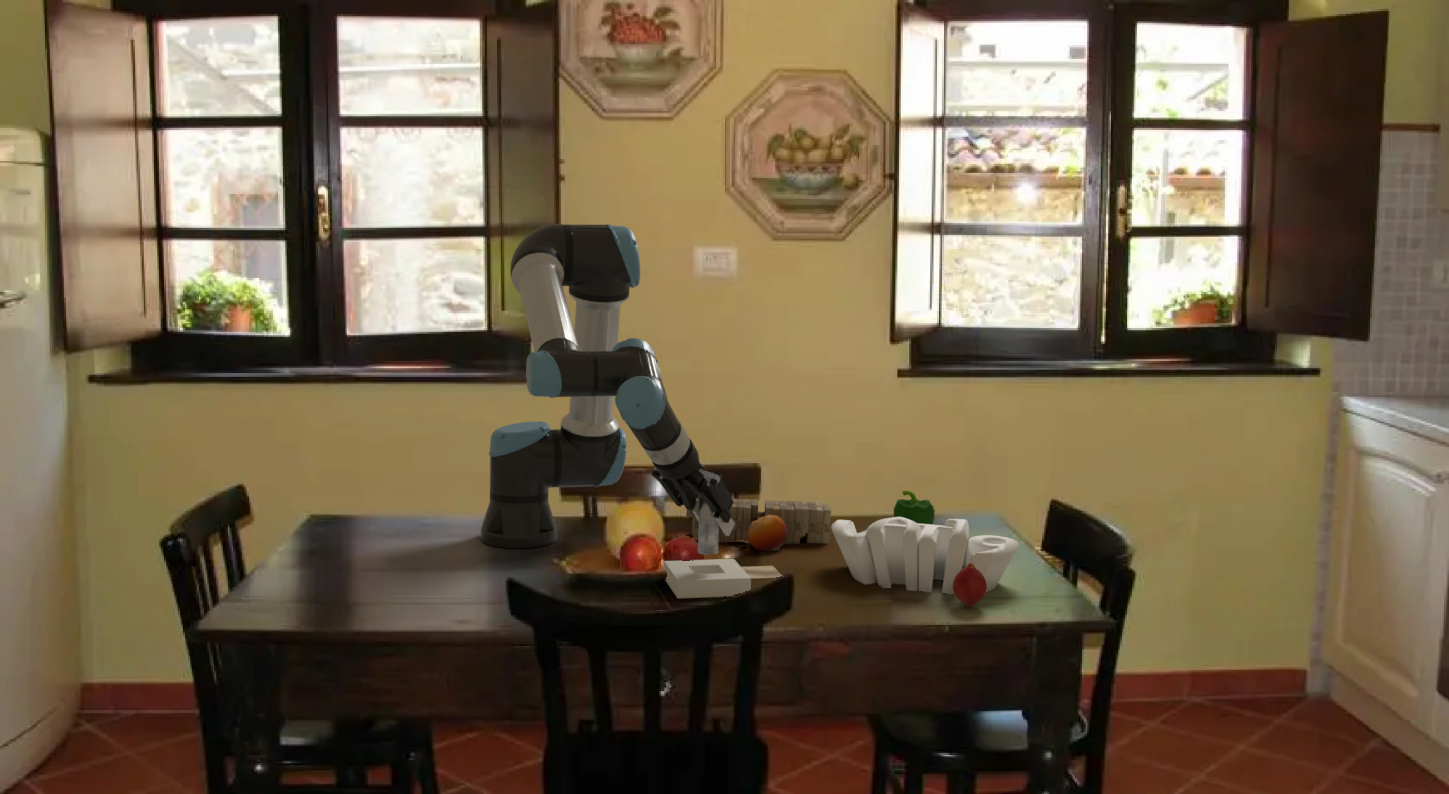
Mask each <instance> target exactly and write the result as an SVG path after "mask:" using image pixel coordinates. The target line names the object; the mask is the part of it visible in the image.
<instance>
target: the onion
mask: <svg viewBox="0 0 1449 794" xmlns="http://www.w3.org/2000/svg"><path fill="white" fill-rule="evenodd" d="M986 589H987V584H986V580H985V578H984V576H983V575H982V573H981V572H980V571H979V570H978V569H976V568H975V566H974V564H973V563H969V564H968V566H967V567H965V568H964V569H962V570H960V571H959V572H958V573H957V575H956V576H955V578H954V581H953V592H954V594H953V595H954V596H955V597H956V598H957V599H958V600H959V601H960V602H961V603H962V604H963V605H964V606H965V607H967V608H973V606H974V605H976V604H977V603H978V602H980V601H981V600H982V599H983V598H984V596H985V595H986V594H987V593H986Z"/></svg>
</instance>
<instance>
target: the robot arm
mask: <svg viewBox="0 0 1449 794" xmlns="http://www.w3.org/2000/svg"><path fill="white" fill-rule="evenodd" d="M513 252H514V253H513V255H512V256H511V257H512V258H511V261H510V266H509V267H510V270H509V271H510V278H511V282H512V285H513V287H514V288H515V291H517V292H518V293H519V294H520V296H521V301H522V305H523V310H524V313H525V318H526V323H527V326H528V331H529V336H530V339H531V343H532V347H533V352H530V353H529V354H528V355H527V358H526V365H525V368H526V369H525V370H526V371H525V379H526V386H527V392H528V393H529V394H530V395H531V396H534V397H542V398H543V397H546V398H550V399H554V398H568V397H569V408H568V409H569V411H568V413H566V415H564V416H563V417H562V418H561V419H560V420H561V422H560V429H551V427H550V425H549V423H547V422H545V421H523V422H517V423H516V422H515V423H510V424H507V425H503V426H500V427H499V428H497V429H495V430H494V431H493V432H492V433H491V436H490V443H489V452H488V455H489V458H490V459H489V503H488V506H487V509H486V513H485V515H484V518H483V520H482V524H481V528H480V541H481V542H482V543H484V544H486V545H489V546H492V547H498V548H508V549H528V548H529V549H531V548H536V547H537V548H538V547H543V546H547V545H551V544H553V543H555V542H556V541H557V539H558V536H557V535H558V533H557V530H558V529H557V525H556V522H555V518H554V516H553V512H552V509H551V505H550V502H549V501H550V500H549V488H576V487H577V488H579V487H580V488H581V487H583V488H584V487H586V488H587V487H593V488H597V487H603V486H612V485H614V484H616V483H617V482H618V481H619V479H620V478H621V476H622V474H623V471H624V468H625V464H626V457H627V450H626V449H627V435H626V432H625V431H624V429H623V428H620V422H619V421H618V420H617V419H616V417H615V416H613V409H614V408H613V407H614V402H615V407H616V408H617V411H618V412H619V414H620V417H621V419H622V420H623V421H624V423H625V424H626V425H627V426H628V428H629V429H630V431H631V432H632V434H633V435H634V437H635V438H636V439H637V441H638V443H639V444H640V445H641V448H643V451H645V453H646V455H647V456H648V458H649V460H650V461H651V463H652V465H653V466H654V468H653V470H652V471H651V473H650V474H651V476H652V477H653V478H654V479H656V481H658V482H659V484H660V485H661V486H662V488H663V490H665V492H666V493H667V495H668V496H669V497H670V498H671V500H672V501H673V502H674V504H675V505H676V506H677V507H680V508H681V507H682V506H684V507H685V509H686V510H687V509H688V510H690V511H691V513H692V515H693V516H694V517H695V518H697V520H698V521H699V498H698V497H699V496H701V497H702V498H703V499H704V501H705V502H706V503H707V504H708V505H709V506H710V508H711V509H712V510H713V511H714V512H713V514H712V515H713V517H714V518H715V520H716V521H717V523H718V525H719V526H720V528H721V529H722V531H723V532H724V534H725V535H726V536H729V535H730V533H731V531H732V529H733V527H734V525H735V523H734V521H733V520H732V518H731V514H730V512H729V511H730V509H731V507H732V504H733V500H732V499H733V497H732V496H731V494H730V492H729V490H728V489H727V486H726V484H725V483H724V481H723V479H722V472H721V471H719V470H715V471H714V472H710V471H707V470H706V467H705V466H704V465H703V464H702V463H700V457H699V451H698V449H697V448H696V446H695V444H694V442H693V441H692V440H691V438H690V436H689V434H688V432H687V431H686V430H685V427H684V426H683V425H682V423H681V421H680V420H679V419H678V418H677V416H676V414H675V412H674V410H673V408H672V406H671V405H670V402H669V400H668V395H667V392H666V389H665V386H664V383H663V378H662V375H661V371H660V368H659V367H660V365H659V363H658V359H657V357H656V354H655V352H654V350H653V348H652V346H651V345H650V344H649V343H648V342H647V341H646V340H643V339H641V338H637V337H635V338H634V337H633V338H632V337H630V338H627V339H625V340H622V341H618V340H619V331H620V330H619V329H620V328H619V327H620V316H621V305H622V304H623V303H625V302H626V301H627V300H628V299H629V297H630V289H631V288H632V289H634V288H636V287H638V286H639V285H640V279H641V261H640V253H639V252H640V251H639V247H638V243H637V240H636V237H635V233H634V232H633V231H632V229H630V228H629V227H627V226H624V225H611V224H610V223H609V224H608V223H607V224H568V223H567V224H562V223H552V224H547V225H544V226H540V227H539V228H536V229H534V230H533V231H531V232H530V233H529V234H527V235H526V236H524V238H523V239H522V240H521V241H520V242H519V244H518V245H517V247H516V248H515V250H514V251H513ZM564 287H568V294H569V296H570V297H571V298H572V299H573V301H575V314H574V315H575V316H574V324H573V321H572V317H571V314H570V311H569V306H568V303H567V298H566V296H565V292H564ZM614 397H615V398H614ZM696 499H698V500H697V502H696Z"/></svg>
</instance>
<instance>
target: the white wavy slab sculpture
mask: <svg viewBox="0 0 1449 794" xmlns="http://www.w3.org/2000/svg"><path fill="white" fill-rule="evenodd" d="M830 528H831V529H830V530H831V531H832V534H833V536H834V538H835V540H836V543H837V544H838V547H839V549H840V551H841V554H842V556H843V559H844V562H846V565H847V567H848V569H849V572H850V574H851V576H852V578H853V579H855V580H856V581H858V582H859V583H861V584H863V585H865V586H866V585H873V584H877V585H878V586H880V587H881V588H882V589H885V588H891V589H892V586H893V585H894V584H895V585H905V590H906V591H908V592H909V591H911V592H920V591H923V592H922V593H932V592H933V584H934V583H933V582H934V581H935V580H937V579H938V580H939V581H943V583H942V589H941V590H942V591H941V594H944V593H947V594H946V595H955V594H954V592H953V581H954V578H955V576H956V575H957V573H958V572H959V571H960V570H962V569H964V568H965V567H967V566H968V564H969V563H973V564H974V566H975V568H976V569H978V570H979V571H980V572H981V573H982V575H983V576H984V578H985V580H986V584H987V589H986V592H988V591H990V592H992V591H993V590H995V589H996V587H997V586H998V584H999V582H1000V581H1001V579H1002V577H1003V576H1004V573H1005V572H1006V570H1007V568H1008V567H1009V565H1010V563H1011V561H1012V559H1013V558H1014V556H1015V555H1016V552H1017V551H1018V549H1019V547H1020V543H1019V542H1018V541H1017V540H1016V539H1013V538H1010V537H1005V536H1001V535H988V534H987V535H985V534H984V535H983V534H982V535H976V536H971V537H970V525H969V521H968V520H967V519H964V518H962V519H961V518H948V519H947V520H946V521H945V525H943V524H942V525H941V524H933V525H931V524H918V523H916V522H914V521H912V520H909V519H906V518H903V517H894V516H892V517H887V518H881V519H878V520H876V521H874V522H873V523H871V524H870V525H869V526H868V527H867V529H865V530H863V531H861V532H857V529H856V526H855V524H854V522H853V521H852V520H849V519H848V520H847V519H837V520H835V521H834V522H833V523H832V524H831V525H830ZM933 580H934V581H933ZM938 580H937V581H938ZM893 583H894V584H893ZM891 585H892V586H891ZM994 588H995V589H994ZM918 589H919V590H918ZM992 589H993V590H992ZM991 590H992V591H991ZM988 593H989V592H988Z"/></svg>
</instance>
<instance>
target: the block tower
mask: <svg viewBox="0 0 1449 794" xmlns="http://www.w3.org/2000/svg"><path fill="white" fill-rule="evenodd" d="M698 499H699V498H697V499H696V502H697V500H698ZM732 500H733V504H732V507H731V509H730V511H729V512H730V514H731V518H732V520H733V521H734V523H735V525H734V527H733V529H732V531H731V533H730V535H729V536H726V535H725V534H724V532H723V531H722V529H721V528H720V526H719V540H718V544H719V543H723V542H732V541H737V540H744V541H748V535H747V531H748V528H749V526H750V525H751V523H752V522H753V521H756V520H758V518H761V517H764V516H767V515H776V516H778V517H780V518H781V519H782V520H783V521H784V523H785V525H786V527H787V535H786V539H785V541H784V544H783V545H790V544H791V545H792V544H793V545H795V544H796V545H797V544H800V543H801V534H804V538H805V543H806V544H824V545H825V544H829V543H830V541H829V540H830V531H831V529H830V528H831V518H832V517H831V516H832V509H831V507H830V504H822V501H806V500H805V501H804V500H786V501H785V500H769V499H766V500H765V501H764V502H765V503H764V511H759V500H758V499H746V498H745V499H741V498H732ZM685 514H686V517H687V518H692V529H691V531H692V532H691V537H692V536H693V537H695V538H696V539H698V530H699V521H698V520H697V518H695V517H694V516H693V515H692V513H691V511H690V510H688V509H686V512H685Z"/></svg>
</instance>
